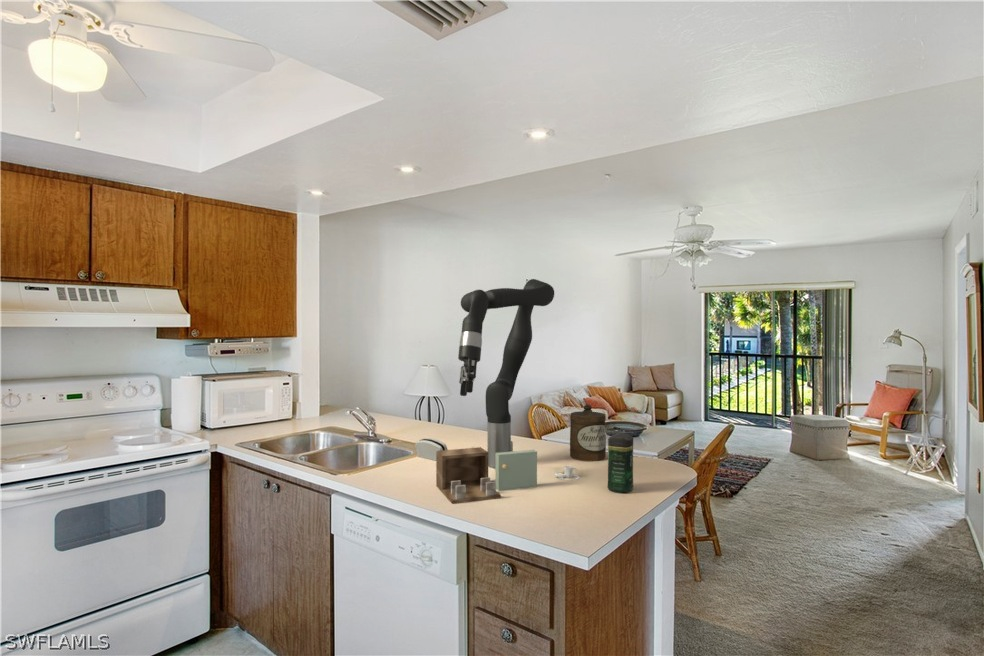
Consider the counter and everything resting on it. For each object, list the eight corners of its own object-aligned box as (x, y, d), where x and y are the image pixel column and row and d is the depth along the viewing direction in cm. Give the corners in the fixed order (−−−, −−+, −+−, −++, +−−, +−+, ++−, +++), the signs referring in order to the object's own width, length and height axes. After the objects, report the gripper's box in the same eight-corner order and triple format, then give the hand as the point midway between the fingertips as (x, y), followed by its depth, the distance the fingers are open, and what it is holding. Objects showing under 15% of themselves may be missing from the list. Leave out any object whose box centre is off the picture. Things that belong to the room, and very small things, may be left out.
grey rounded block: (454, 460, 213) (448, 439, 210) (446, 467, 209) (440, 445, 207) (426, 454, 224) (420, 433, 221) (418, 460, 220) (412, 439, 218)
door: (533, 484, 180) (533, 449, 181) (538, 487, 177) (538, 452, 177) (495, 488, 176) (495, 452, 176) (499, 492, 172) (499, 455, 172)
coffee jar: (629, 495, 169) (629, 437, 169) (605, 491, 172) (605, 435, 172) (635, 487, 177) (635, 432, 177) (612, 484, 181) (612, 430, 181)
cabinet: (480, 481, 184) (480, 447, 184) (500, 497, 166) (500, 460, 166) (436, 486, 178) (436, 450, 178) (452, 503, 160) (452, 464, 160)
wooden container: (582, 462, 210) (582, 408, 210) (563, 454, 223) (563, 403, 223) (613, 459, 216) (613, 406, 216) (592, 451, 229) (592, 401, 229)
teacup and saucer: (553, 479, 187) (553, 468, 187) (558, 474, 195) (558, 463, 195) (577, 482, 184) (577, 470, 184) (581, 476, 192) (581, 465, 192)
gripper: (486, 343, 172) (482, 392, 168) (476, 352, 185) (472, 398, 181) (464, 340, 170) (459, 390, 166) (455, 349, 184) (450, 395, 179)
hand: (465, 394), depth 173 cm, fingers open, 8 cm apart
